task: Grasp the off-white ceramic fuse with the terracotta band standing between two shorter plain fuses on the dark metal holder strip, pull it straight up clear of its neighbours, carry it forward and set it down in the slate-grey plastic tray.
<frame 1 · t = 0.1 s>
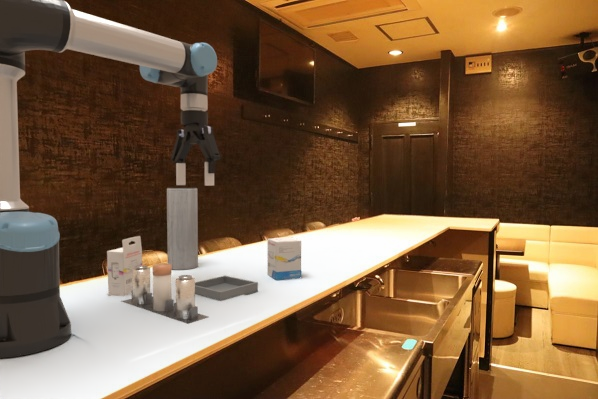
hand: (194, 185, 124), 28 cm above the worktop, fingers open, 13 cm apart
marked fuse: (162, 308, 98), resting on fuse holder
ink cartridge box: (125, 293, 113), on the worktop
ink box: (284, 277, 133), on the worktop
tray: (222, 292, 113), on the worktop
vase: (183, 267, 147), on the worktop
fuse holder: (162, 310, 98), on the worktop
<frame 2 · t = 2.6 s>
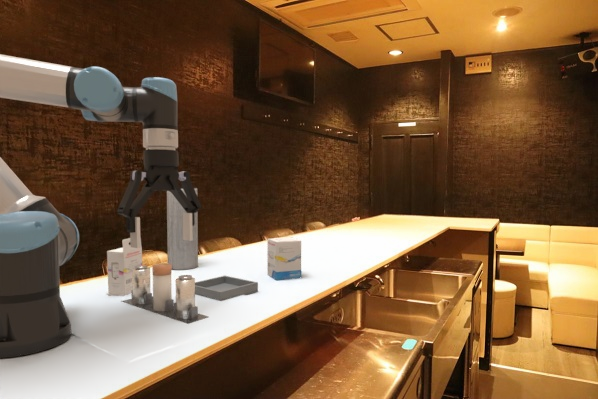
hand: (163, 243, 97), 15 cm above the worktop, fingers open, 13 cm apart
nothing on the worktop moved.
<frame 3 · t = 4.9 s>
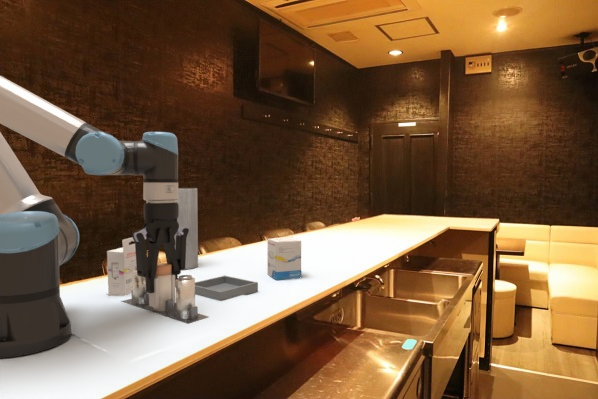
hand: (162, 304, 98), 1 cm above the worktop, fingers closed on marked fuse, 4 cm apart
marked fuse: (162, 308, 98), resting on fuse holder, touching gripper
everything else where it was.
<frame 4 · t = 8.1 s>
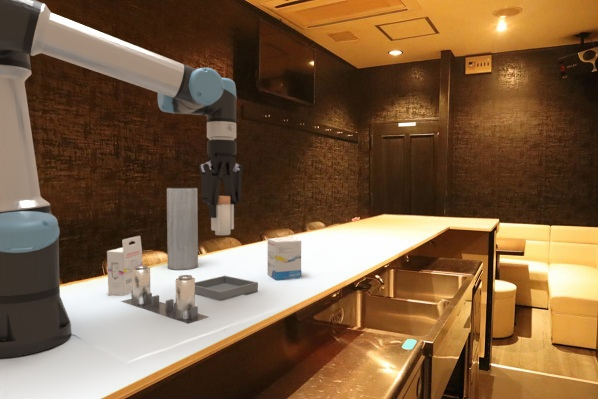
hand: (222, 229, 112), 17 cm above the worktop, fingers closed on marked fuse, 4 cm apart
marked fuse: (222, 234, 112), point 15 cm above the worktop, touching gripper
everything else where it was.
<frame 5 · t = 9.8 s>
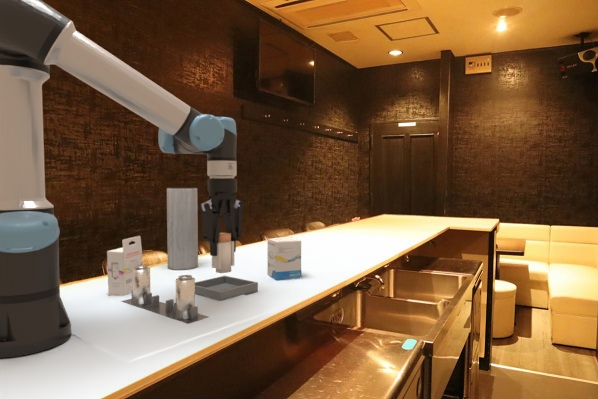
hand: (223, 266, 113), 7 cm above the worktop, fingers closed on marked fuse, 4 cm apart
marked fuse: (223, 271, 113), point 6 cm above the worktop, touching gripper
everything else where it was.
when the fingers open (3 cm above the worktop, at t = 11.3 s): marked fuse drops 1 cm, resting on tray.
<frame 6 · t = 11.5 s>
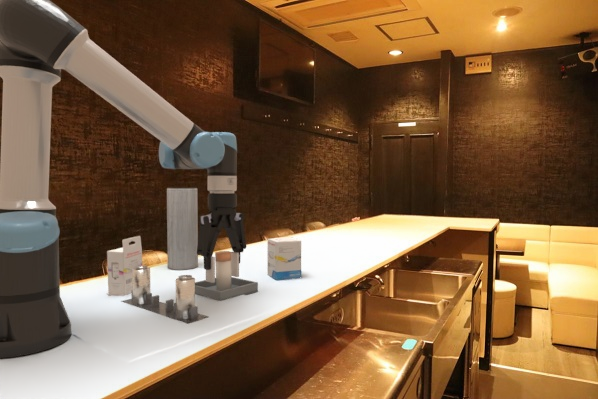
hand: (222, 278, 113), 4 cm above the worktop, fingers open, 8 cm apart
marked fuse: (224, 289, 113), point 1 cm above the worktop, touching tray
everything else where it was.
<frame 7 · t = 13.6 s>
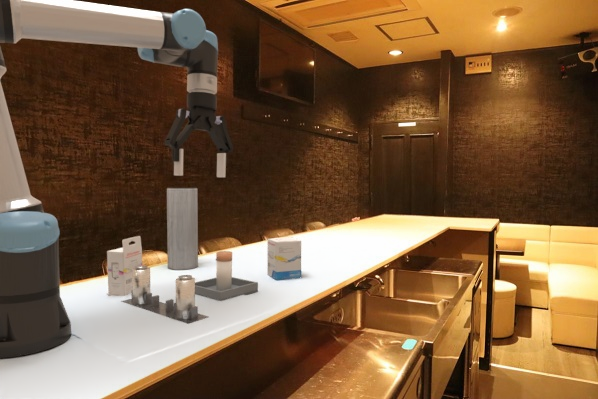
hand: (200, 176, 111), 31 cm above the worktop, fingers open, 13 cm apart
nothing on the worktop moved.
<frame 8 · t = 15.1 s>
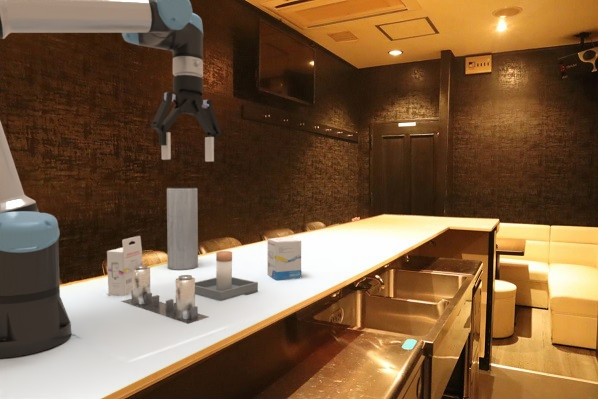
hand: (188, 160, 111), 35 cm above the worktop, fingers open, 13 cm apart
nothing on the worktop moved.
at the end: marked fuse inside the target area on the tray (0.4 cm from its centre), point 0.7 cm above the tray's base; the gripper is holding nothing; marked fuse moved 19.4 cm from its start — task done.
